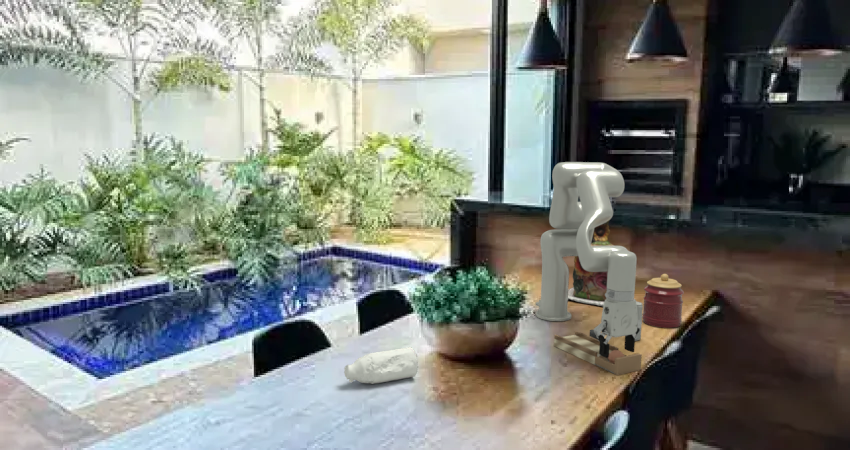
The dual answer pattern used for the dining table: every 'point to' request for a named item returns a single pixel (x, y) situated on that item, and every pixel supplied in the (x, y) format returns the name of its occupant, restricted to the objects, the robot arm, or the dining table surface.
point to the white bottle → (383, 366)
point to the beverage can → (639, 318)
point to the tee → (592, 334)
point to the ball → (615, 355)
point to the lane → (581, 346)
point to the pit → (621, 364)
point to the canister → (663, 302)
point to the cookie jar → (591, 274)
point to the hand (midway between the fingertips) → (616, 353)
